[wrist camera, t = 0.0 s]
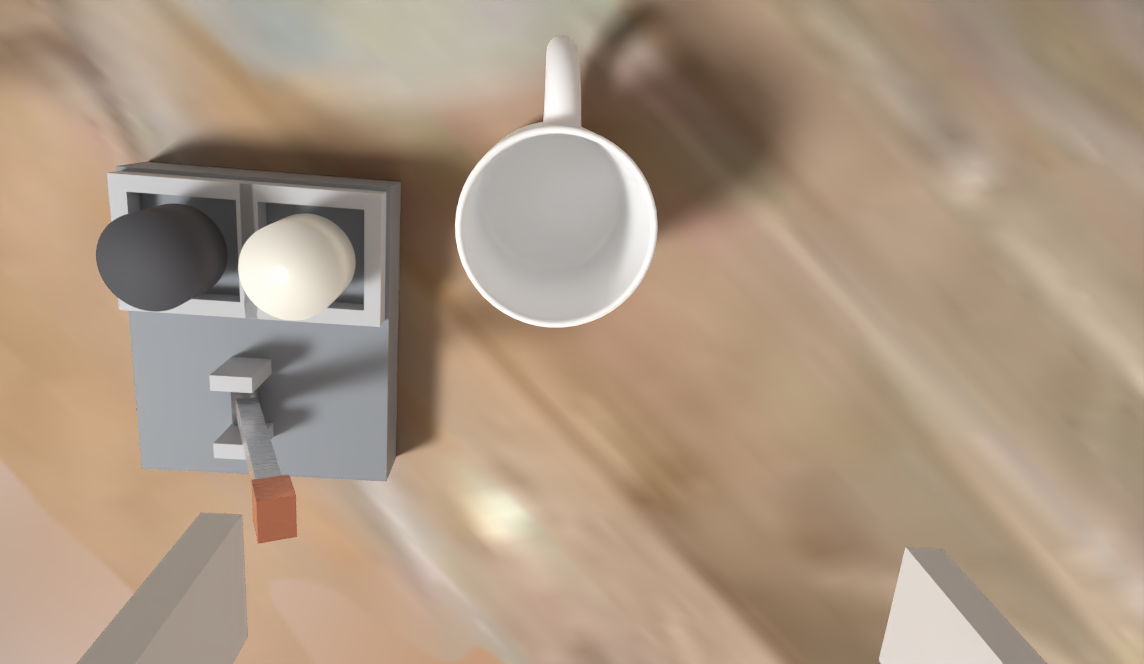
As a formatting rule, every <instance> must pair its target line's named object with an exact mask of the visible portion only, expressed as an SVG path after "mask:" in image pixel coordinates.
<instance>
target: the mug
mask: <svg viewBox="0 0 1144 664" xmlns="http://www.w3.org/2000/svg"><path fill="white" fill-rule="evenodd" d="M657 231H658V221H657V210H656V206H655V201H654V197H653V195H652V192H651V189H650V186H649V184H648V182H647V180H646V179H645V177H644V175H643V173H642V172H641V170H640V169H639V167H638V166H637V165H636V163H635V162H634V161H633V160H632V159H631V158H630V157H629V156H628V155H627V153H626V152H624V151H623V150H622V149H621V148H619V147H618V146H617V145H616V144H614V143H613V142H611V141H609V140H608V139H606V138H604V137H603V136H600V135H598V134H596V133H594V132H592V131H590V130H587V129H585V128H583V127H582V126H581V80H580V64H579V56H578V50H577V46H576V44H575V42H574V41H573V40H572V39H571V38H570V37H568V36H565V35H559V36H556V37H554V38H553V39H551V41H550V42H549V44H548V47H547V52H546V81H545V104H544V119H543V122H539V123H534V124H531V125H527V126H524V127H522V128H519V129H517V130H515V131H513V132H512V133H510V134H508V135H506V136H505V137H504V138H503V139H501V140H500V141H499V142H498V143H497V144H496V145H495V146H494V147H493V148H492V149H491V150H490V151H489V152H488V153H487V154H486V155H485V156H484V157H483V158H482V159H481V160H480V161H479V162H478V163H477V165H476V166H475V167H474V169H473V170H472V172H471V173H470V175H469V177H468V179H467V180H466V182H465V184H464V187H463V189H462V192H461V195H460V197H459V201H458V206H457V210H456V220H455V234H456V242H457V248H458V252H459V255H460V259H461V262H462V264H463V267H464V269H465V271H466V273H467V275H468V277H469V278H470V280H471V281H472V283H473V285H474V286H475V287H476V288H477V290H478V291H479V292H480V293H481V295H482V296H483V297H484V298H485V299H487V300H488V301H489V302H490V303H491V304H492V305H493V306H495V307H496V308H497V309H499V310H500V311H502V312H503V313H505V314H507V315H509V316H511V317H512V318H514V319H517V320H520V321H522V322H525V323H528V324H532V325H536V326H543V327H570V326H577V325H580V324H584V323H588V322H591V321H593V320H596V319H598V318H601V317H602V316H604V315H606V314H608V313H609V312H611V311H613V310H614V309H615V308H617V307H618V306H619V305H621V304H622V303H623V302H624V301H625V300H626V299H627V298H628V297H629V296H630V295H631V294H632V293H633V292H634V291H635V289H636V288H637V287H638V286H639V284H640V283H641V281H642V279H643V278H644V276H645V275H646V273H647V270H648V268H649V266H650V264H651V261H652V258H653V255H654V252H655V247H656V241H657Z"/></svg>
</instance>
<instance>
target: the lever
mask: <svg viewBox="0 0 1144 664" xmlns="http://www.w3.org/2000/svg"><path fill="white" fill-rule="evenodd" d="M231 412H232V424H233V425H234V426H237V427H239V432H240V436H241V440H242V445H243V449H244V453H245V458H246V462H247V466H248V471H249V475H250V479H251V484H252V506H253V522H254V527H255V531H256V536H257V541H258V543H264V542H270V541H275V540H281V539H287V538H292V537H297V525H296V494H295V491H294V488H293V485H292V482H291V479H290V476H289V474H288V475H282V474H281V471H280V468H279V465H278V462H277V458H276V455H275V452H274V449H273V445H272V442H271V439H270V436H269V433H268V429H267V426H266V423H265V420H264V416H263V413H262V410H261V396H260V386H259V387H258V388H257V389H256V390H255V391H254V392H253V393H241V392H231Z"/></svg>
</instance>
